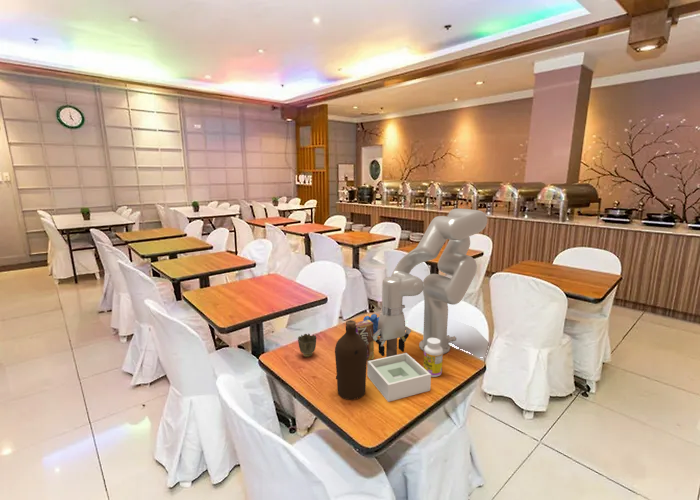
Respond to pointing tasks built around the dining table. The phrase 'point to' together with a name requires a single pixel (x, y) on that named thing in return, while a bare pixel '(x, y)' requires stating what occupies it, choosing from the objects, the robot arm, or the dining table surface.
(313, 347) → the cup
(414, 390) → the box
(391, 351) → the peg
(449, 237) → the robot arm
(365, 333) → the candy box
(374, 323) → the grapes
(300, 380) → the dining table surface
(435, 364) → the supplement bottle
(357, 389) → the olive oil
